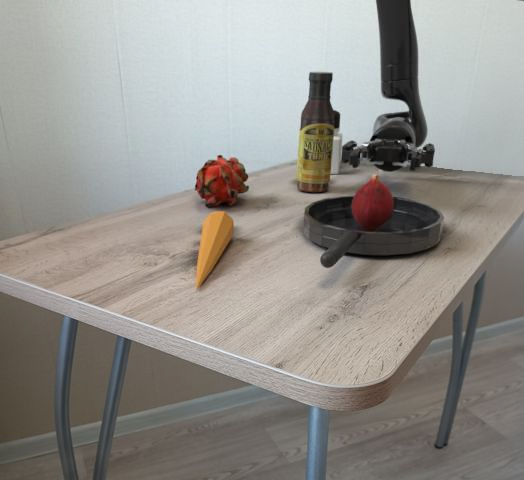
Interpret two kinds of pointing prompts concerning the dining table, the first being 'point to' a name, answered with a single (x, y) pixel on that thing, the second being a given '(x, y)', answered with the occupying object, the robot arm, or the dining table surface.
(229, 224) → the carrot
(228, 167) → the dragon fruit
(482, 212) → the dining table surface
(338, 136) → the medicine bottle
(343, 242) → the pan handle
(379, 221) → the onion
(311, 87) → the sauce bottle
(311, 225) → the pan
